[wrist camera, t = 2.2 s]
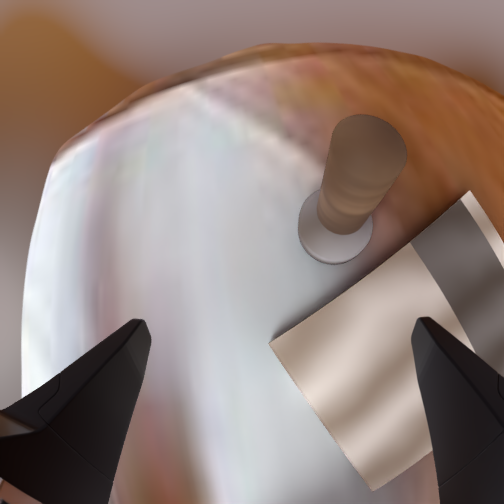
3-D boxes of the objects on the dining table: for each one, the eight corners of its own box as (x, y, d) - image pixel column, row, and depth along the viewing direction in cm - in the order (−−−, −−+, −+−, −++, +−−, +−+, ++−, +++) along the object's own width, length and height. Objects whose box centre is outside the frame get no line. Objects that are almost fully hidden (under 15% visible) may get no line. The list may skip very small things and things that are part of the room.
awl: (379, 239, 23) (450, 167, 11) (324, 278, 23) (363, 233, 11) (338, 185, 25) (371, 82, 12) (284, 220, 24) (279, 129, 12)
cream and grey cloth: (536, 328, 19) (544, 328, 18) (369, 485, 19) (372, 492, 17) (463, 195, 23) (469, 190, 22) (269, 342, 22) (268, 343, 21)
